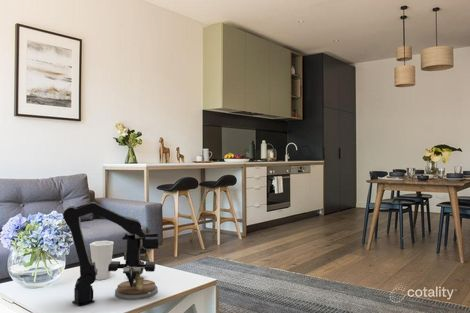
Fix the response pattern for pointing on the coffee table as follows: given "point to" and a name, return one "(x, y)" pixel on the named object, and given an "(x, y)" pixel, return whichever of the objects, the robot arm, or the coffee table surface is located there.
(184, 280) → the coffee table surface
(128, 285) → the handwheel
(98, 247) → the cup
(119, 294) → the wheel base
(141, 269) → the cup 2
